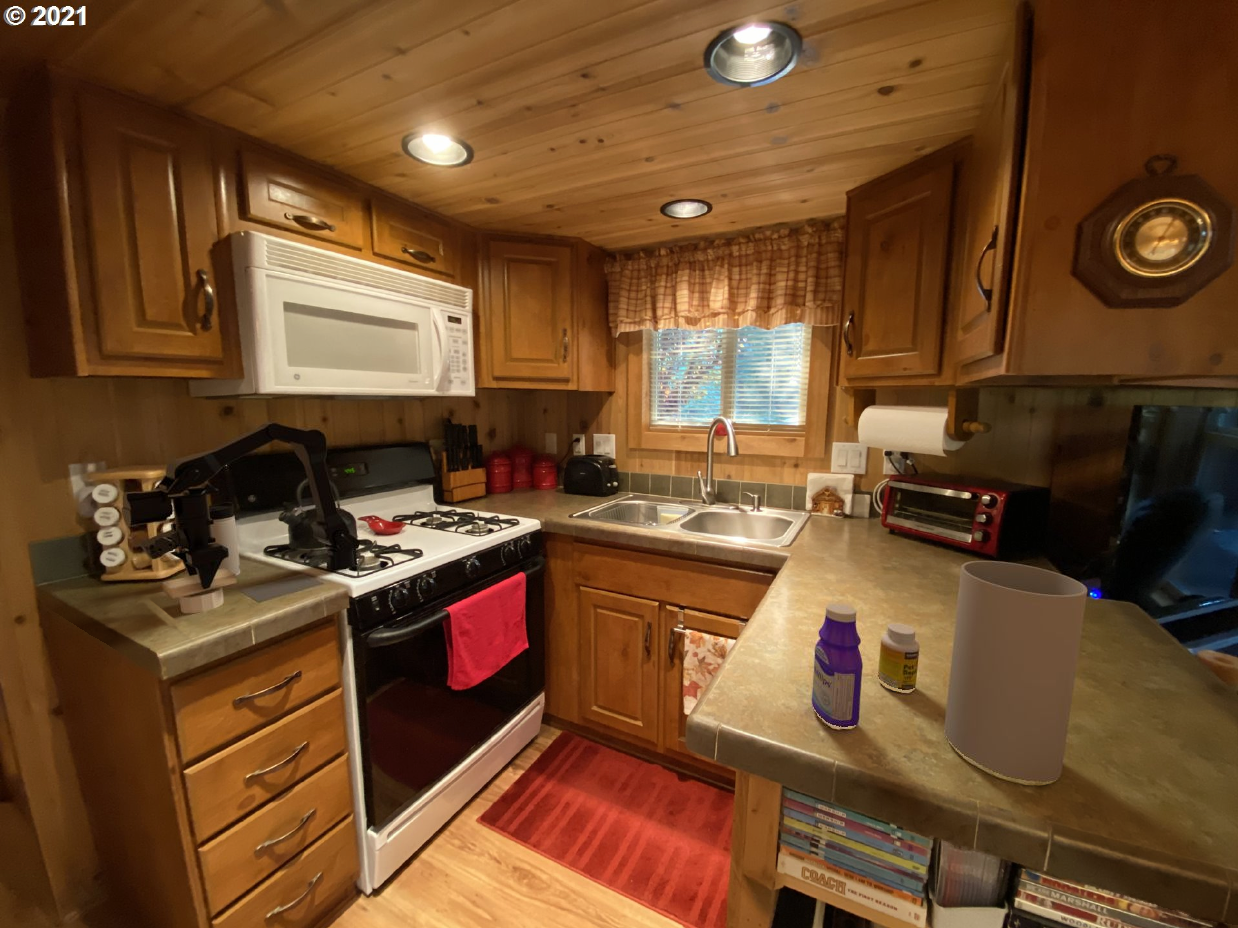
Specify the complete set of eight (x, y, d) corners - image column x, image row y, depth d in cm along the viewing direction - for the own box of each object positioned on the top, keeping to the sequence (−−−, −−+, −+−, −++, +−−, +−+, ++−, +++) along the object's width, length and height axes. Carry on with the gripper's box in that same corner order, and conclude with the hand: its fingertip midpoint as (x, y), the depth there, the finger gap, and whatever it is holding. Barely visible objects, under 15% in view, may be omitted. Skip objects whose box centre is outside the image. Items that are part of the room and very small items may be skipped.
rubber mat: (302, 577, 129) (302, 573, 128) (324, 587, 122) (324, 583, 122) (239, 594, 117) (239, 590, 117) (259, 606, 110) (259, 602, 110)
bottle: (804, 703, 76) (810, 598, 74) (838, 702, 77) (846, 597, 74) (827, 735, 69) (835, 620, 67) (865, 733, 69) (875, 618, 67)
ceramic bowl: (217, 601, 113) (215, 582, 113) (228, 608, 109) (226, 589, 109) (177, 612, 107) (175, 592, 107) (188, 620, 103) (185, 600, 103)
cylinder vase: (973, 782, 61) (995, 592, 57) (927, 718, 73) (943, 558, 70) (1087, 796, 59) (1116, 600, 55) (1020, 727, 71) (1041, 563, 67)
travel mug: (248, 574, 130) (240, 502, 127) (226, 584, 124) (217, 507, 121) (226, 573, 131) (218, 501, 128) (203, 583, 124) (194, 506, 121)
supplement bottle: (902, 699, 77) (908, 639, 76) (870, 681, 82) (874, 624, 81) (922, 689, 80) (928, 631, 79) (890, 672, 85) (894, 617, 84)
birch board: (225, 576, 114) (224, 567, 114) (236, 582, 110) (235, 574, 110) (162, 591, 105) (161, 582, 105) (172, 598, 101) (171, 589, 101)
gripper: (129, 517, 104) (139, 586, 106) (155, 531, 94) (165, 607, 96) (196, 508, 113) (203, 572, 115) (225, 519, 103) (233, 589, 105)
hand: (200, 584), depth 108 cm, fingers closed on birch board, 7 cm apart
